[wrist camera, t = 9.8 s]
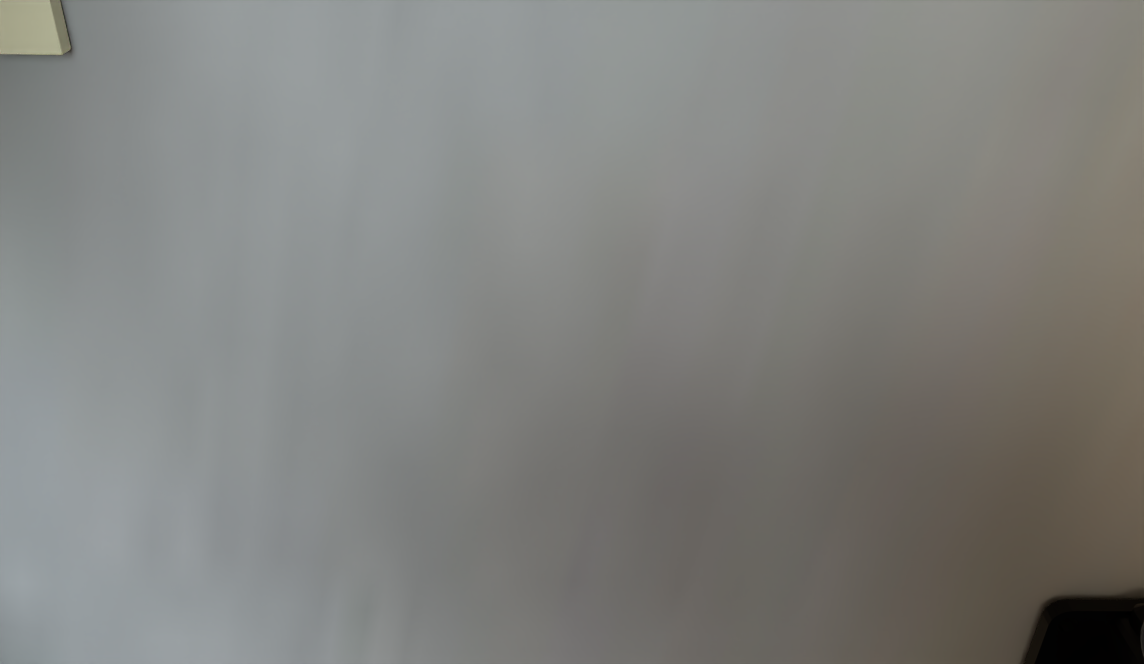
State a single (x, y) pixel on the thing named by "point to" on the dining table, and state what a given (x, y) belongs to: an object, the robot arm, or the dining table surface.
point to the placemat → (33, 27)
